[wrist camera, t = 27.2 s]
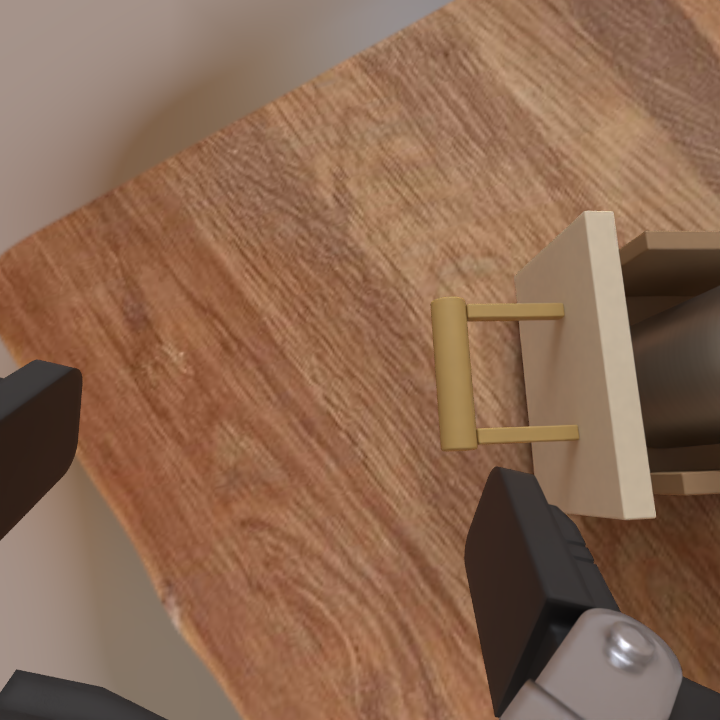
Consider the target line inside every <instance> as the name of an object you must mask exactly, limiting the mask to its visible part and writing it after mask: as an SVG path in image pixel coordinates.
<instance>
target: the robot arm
mask: <svg viewBox="0 0 720 720" xmlns="http://www.w3.org/2000/svg"><path fill="white" fill-rule="evenodd" d="M81 395H82V374H81V372H80V370H79V369H77V368H72V367H68V366H64V365H59V364H55V363H51V362H46V361H42V360H34V361H32V362H30V363H29V364H27V365H25V366H24V367H22V368H20V369H19V370H17V371H15V372H14V373H12V374H10V375H9V376H7V377H5V378H0V540H1V539H2V538H3V537H4V536H5V535H6V534H7V533H8V532H9V531H10V530H11V529H12V528H13V527H14V526H15V525H16V524H17V523H18V522H19V521H20V520H21V519H22V518H23V516H25V515H26V514H27V513H28V512H29V511H30V510H31V509H32V508H33V507H34V505H35V504H36V503H37V502H38V501H39V500H40V499H41V498H42V497H43V496H44V495H45V494H46V493H47V492H48V491H49V490H50V489H51V488H52V487H53V486H54V485H55V484H56V483H57V482H58V481H59V480H60V479H61V478H62V477H63V476H64V474H65V473H66V472H67V470H68V469H69V467H70V465H71V463H72V461H73V459H74V456H75V453H76V449H77V444H78V433H79V420H80V408H81ZM585 545H586V543H585V542H584V540H583V538H582V536H581V534H580V532H579V530H578V528H577V526H576V524H575V523H574V522H573V521H572V520H571V519H570V518H569V517H568V516H567V515H566V514H565V513H564V512H563V511H562V510H561V509H560V508H559V507H558V506H555V505H551V504H548V502H547V500H546V497H545V495H544V493H543V491H542V489H541V487H540V485H539V482H538V480H537V478H536V477H535V476H534V475H532V474H528V473H524V472H519V471H515V470H511V469H506V468H502V467H498V466H496V467H494V468H493V469H492V471H491V472H490V474H489V477H488V479H487V482H486V485H485V488H484V490H483V493H482V496H481V499H480V501H479V504H478V507H477V510H476V512H475V515H474V518H473V521H472V523H471V526H470V529H469V532H468V535H467V540H466V545H465V556H464V560H465V568H466V573H467V578H468V583H469V588H470V593H471V598H472V603H473V608H474V613H475V618H476V623H477V629H478V634H479V639H480V644H481V649H482V654H483V659H484V664H485V669H486V674H487V679H488V684H489V689H490V694H491V699H492V704H493V709H494V714H495V717H498V718H499V720H720V694H719V693H717V692H715V691H713V690H711V689H709V688H706V687H704V686H702V685H700V684H698V683H695V682H693V681H691V680H689V679H687V678H685V677H683V676H682V669H681V666H680V663H679V661H678V659H677V657H676V655H675V654H674V653H673V651H672V650H671V648H670V647H669V646H668V645H667V644H666V643H665V642H664V641H663V640H662V639H661V638H660V637H659V636H658V635H657V634H656V633H655V632H653V631H652V630H651V629H650V628H648V627H647V626H645V625H644V624H642V623H641V622H639V621H637V620H635V619H634V618H632V617H630V616H627V615H625V614H623V613H621V611H620V610H619V608H618V606H617V604H616V602H615V600H614V598H613V596H612V594H611V592H610V590H609V588H608V586H607V584H606V582H605V580H604V578H603V577H602V575H601V573H600V571H599V569H598V567H597V565H596V564H594V559H593V557H592V555H591V553H590V551H589V549H588V548H586V547H585ZM0 720H167V719H165V718H163V717H161V716H159V715H157V714H155V713H153V712H151V711H149V710H147V709H145V708H143V707H141V706H139V705H137V704H135V703H133V702H131V701H129V700H127V699H125V698H123V697H121V696H119V695H117V694H115V693H113V692H111V691H109V690H107V689H105V688H103V687H99V686H94V685H89V684H85V683H80V682H75V681H70V680H65V679H60V678H55V677H50V676H45V675H41V674H36V673H31V672H26V671H21V670H16V671H15V672H14V674H13V675H12V677H11V678H10V679H9V681H8V682H7V684H6V685H5V687H4V688H3V689H2V691H1V692H0Z"/></svg>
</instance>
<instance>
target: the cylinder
mask: <svg viewBox="0 0 720 720" xmlns="http://www.w3.org/2000/svg"><path fill="white" fill-rule="evenodd" d="M630 334H631V341H632V348H633V355H634V362H635V370H636V377H637V384H638V391H639V398H640V405H641V412H642V419H643V426H644V433H645V441H646V446H648V447H653V448H661V449H667V448H679V447H690V446H702V445H713V444H720V286H718V287H716V288H713V289H711V290H709V291H707V292H705V293H702V294H700V295H698V296H696V297H694V298H691V299H689V300H687V301H685V302H683V303H680V304H678V305H676V306H674V307H672V308H670V309H667V310H665V311H663V312H661V313H659V314H656V315H654V316H652V317H650V318H648V319H645V320H643V321H641V322H639V323H637V324H634V325H632V326H630Z"/></svg>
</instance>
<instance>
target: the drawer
mask: <svg viewBox="0 0 720 720" xmlns="http://www.w3.org/2000/svg"><path fill="white" fill-rule="evenodd" d="M514 280H515V290H516V300H517V304H467V305H466V304H465V300H464V299H463V298H460V297H442V298H438V299H436V300H433V301H432V302H431V318H432V332H433V346H434V360H435V373H436V387H437V401H438V415H439V429H440V443H441V450H442V451H467V450H475V449H477V447H478V446H477V445H482V444H507V443H531V446H532V456H533V465H534V475H535V477H536V478H537V480H538V482H539V485H540V487H541V489H542V491H543V493H544V495H545V497H546V500H547V502H548V504H551V505H555V506H558V507H559V508H560V509H561V510H562V511H563V512H564V513H568V514H577V515H585V516H594V517H603V518H611V519H620V520H637V519H654V518H656V512H655V504H654V497H653V494H659V495H704V494H720V444H713V445H702V446H690V447H679V448H667V449H661V448H653V447H648V446H646V441H645V433H644V426H643V419H642V412H641V405H640V398H639V391H638V384H637V377H636V370H635V362H634V355H633V348H632V341H631V334H630V326H632V325H634V324H637V323H639V322H641V321H643V320H645V319H648V318H650V317H652V316H654V315H656V314H659V313H661V312H663V311H665V310H667V309H670V308H672V307H674V306H676V305H678V304H680V303H683V302H685V301H687V300H689V299H691V298H694V297H696V296H698V295H700V294H702V293H705V292H707V291H709V290H711V289H713V288H716V287H718V286H720V231H645V232H643V233H642V234H640V235H639V236H638V237H636V238H635V239H633V240H632V241H630V242H629V243H628V244H626V245H625V246H623V247H622V248H621V249H618V242H617V235H616V227H615V220H614V213H613V212H612V211H584V212H583V213H582V214H581V215H580V216H579V217H578V218H577V219H575V220H574V221H573V222H572V223H571V224H570V225H569V226H568V227H567V228H566V229H565V230H564V231H562V232H561V233H560V234H559V235H558V236H557V237H556V238H555V239H554V240H553V241H552V242H550V243H549V244H548V245H547V246H546V247H545V248H544V249H543V250H542V251H541V252H540V253H539V254H537V255H536V256H535V257H534V258H533V259H532V260H531V261H530V262H529V263H528V264H527V265H525V266H524V267H523V268H522V269H521V270H520V271H519V272H518V273H517V274H516V275H515V276H514ZM467 321H519V329H520V339H521V348H522V358H523V368H524V378H525V387H526V397H527V407H528V417H529V427H502V428H478V429H476V422H475V410H474V398H473V386H472V375H471V363H470V351H469V339H468V327H467Z"/></svg>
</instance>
